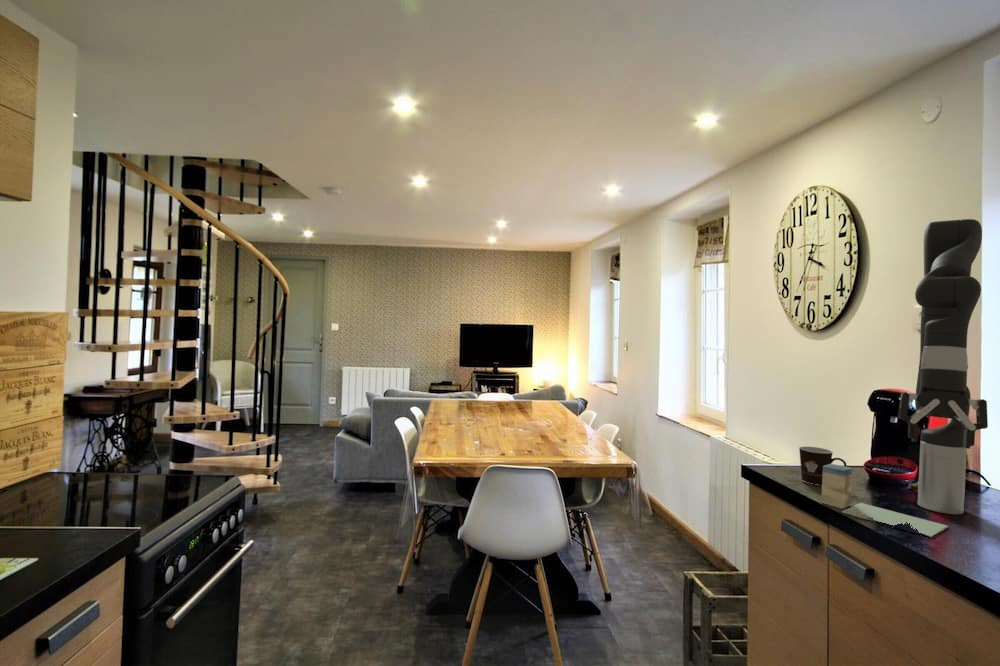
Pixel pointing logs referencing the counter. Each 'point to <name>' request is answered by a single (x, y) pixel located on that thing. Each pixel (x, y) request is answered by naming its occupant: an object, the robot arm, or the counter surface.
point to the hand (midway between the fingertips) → (939, 444)
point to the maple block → (836, 484)
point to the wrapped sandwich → (914, 486)
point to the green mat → (900, 519)
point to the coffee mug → (815, 463)
